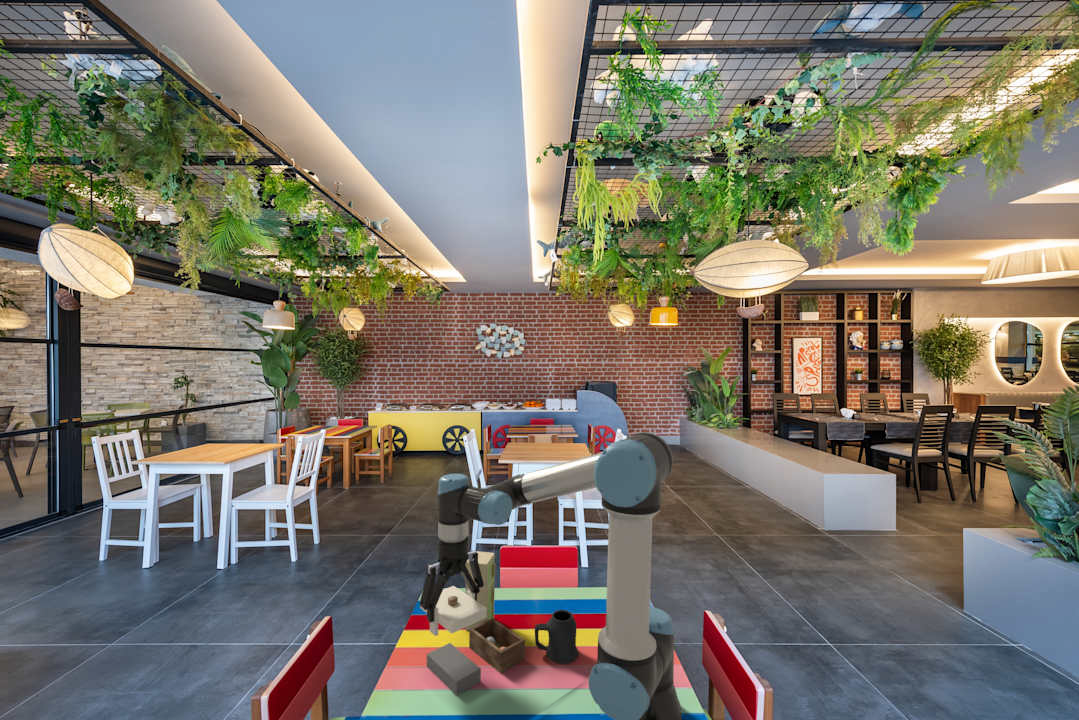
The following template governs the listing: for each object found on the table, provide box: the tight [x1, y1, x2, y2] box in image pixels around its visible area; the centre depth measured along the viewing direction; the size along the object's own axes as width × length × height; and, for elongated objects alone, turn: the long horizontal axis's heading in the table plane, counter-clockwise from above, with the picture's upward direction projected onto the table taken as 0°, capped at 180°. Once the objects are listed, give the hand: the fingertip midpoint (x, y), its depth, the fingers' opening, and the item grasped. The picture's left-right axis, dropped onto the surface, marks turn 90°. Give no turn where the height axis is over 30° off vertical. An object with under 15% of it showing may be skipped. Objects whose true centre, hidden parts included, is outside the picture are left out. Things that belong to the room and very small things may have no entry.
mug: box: [534, 609, 579, 665], centre depth 128 cm, size 12×9×11 cm
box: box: [468, 618, 526, 674], centre depth 128 cm, size 14×8×6 cm, turn 43°
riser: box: [426, 642, 482, 696], centre depth 120 cm, size 14×7×4 cm, turn 43°
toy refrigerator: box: [464, 550, 496, 632], centre depth 141 cm, size 8×7×21 cm
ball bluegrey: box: [486, 637, 495, 645], centre depth 130 cm, size 3×3×3 cm
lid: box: [419, 585, 487, 634], centre depth 119 cm, size 15×10×4 cm, turn 43°
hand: (452, 624), depth 120 cm, fingers closed on lid, 10 cm apart
